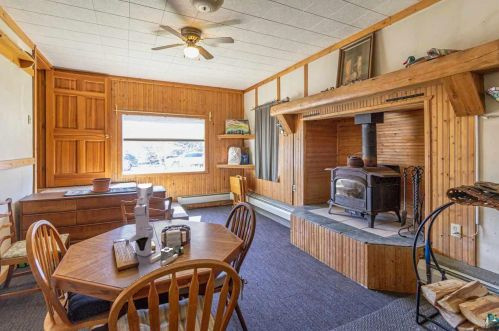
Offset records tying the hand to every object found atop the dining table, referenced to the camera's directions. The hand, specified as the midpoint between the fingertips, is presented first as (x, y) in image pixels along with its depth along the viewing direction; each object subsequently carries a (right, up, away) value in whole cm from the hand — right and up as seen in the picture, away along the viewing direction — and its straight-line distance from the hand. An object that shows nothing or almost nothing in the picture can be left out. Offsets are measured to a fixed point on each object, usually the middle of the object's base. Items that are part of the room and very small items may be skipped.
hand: (141, 250), depth 146 cm
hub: (+11, -9, +11) cm, 18 cm away
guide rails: (+9, -9, +10) cm, 16 cm away
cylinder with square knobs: (+14, -8, +19) cm, 25 cm away
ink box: (+10, -8, +27) cm, 30 cm away
